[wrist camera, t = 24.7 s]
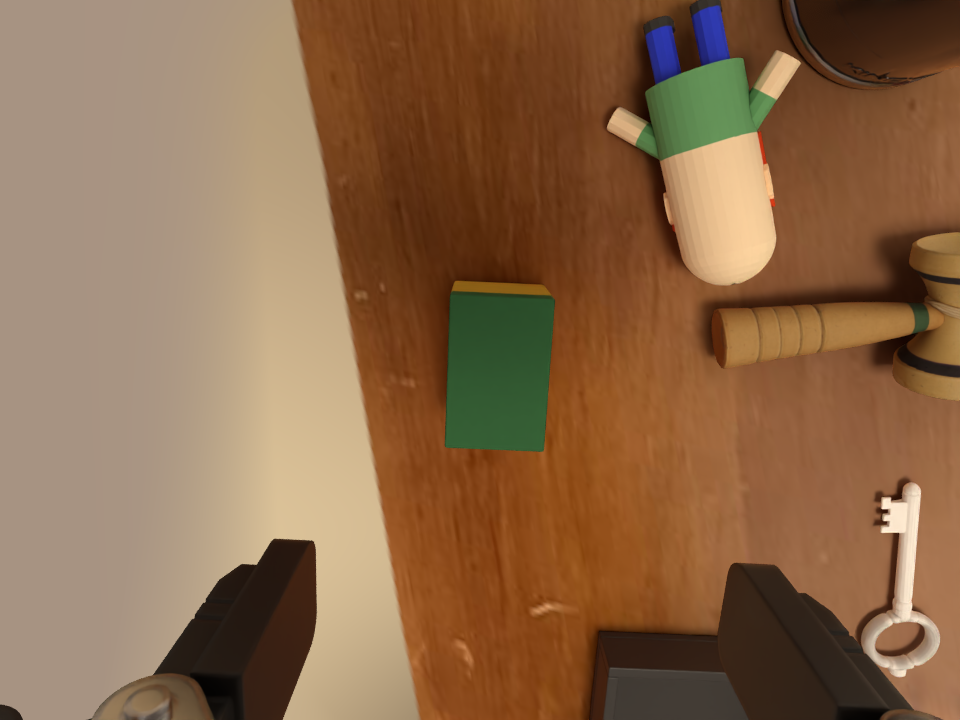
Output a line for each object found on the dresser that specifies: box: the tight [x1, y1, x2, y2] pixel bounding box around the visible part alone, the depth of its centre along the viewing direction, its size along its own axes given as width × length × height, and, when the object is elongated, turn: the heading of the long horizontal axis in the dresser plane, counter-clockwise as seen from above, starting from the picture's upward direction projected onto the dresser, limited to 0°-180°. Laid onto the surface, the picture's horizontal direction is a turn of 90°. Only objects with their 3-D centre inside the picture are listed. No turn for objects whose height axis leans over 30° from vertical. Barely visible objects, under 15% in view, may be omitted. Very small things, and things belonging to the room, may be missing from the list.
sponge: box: [445, 281, 555, 452], centre depth 30 cm, size 7×4×5 cm, turn 177°
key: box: [861, 482, 940, 677], centre depth 35 cm, size 12×1×4 cm
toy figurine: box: [607, 0, 801, 285], centre depth 28 cm, size 8×4×12 cm
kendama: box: [711, 232, 960, 401], centre depth 30 cm, size 8×6×18 cm
